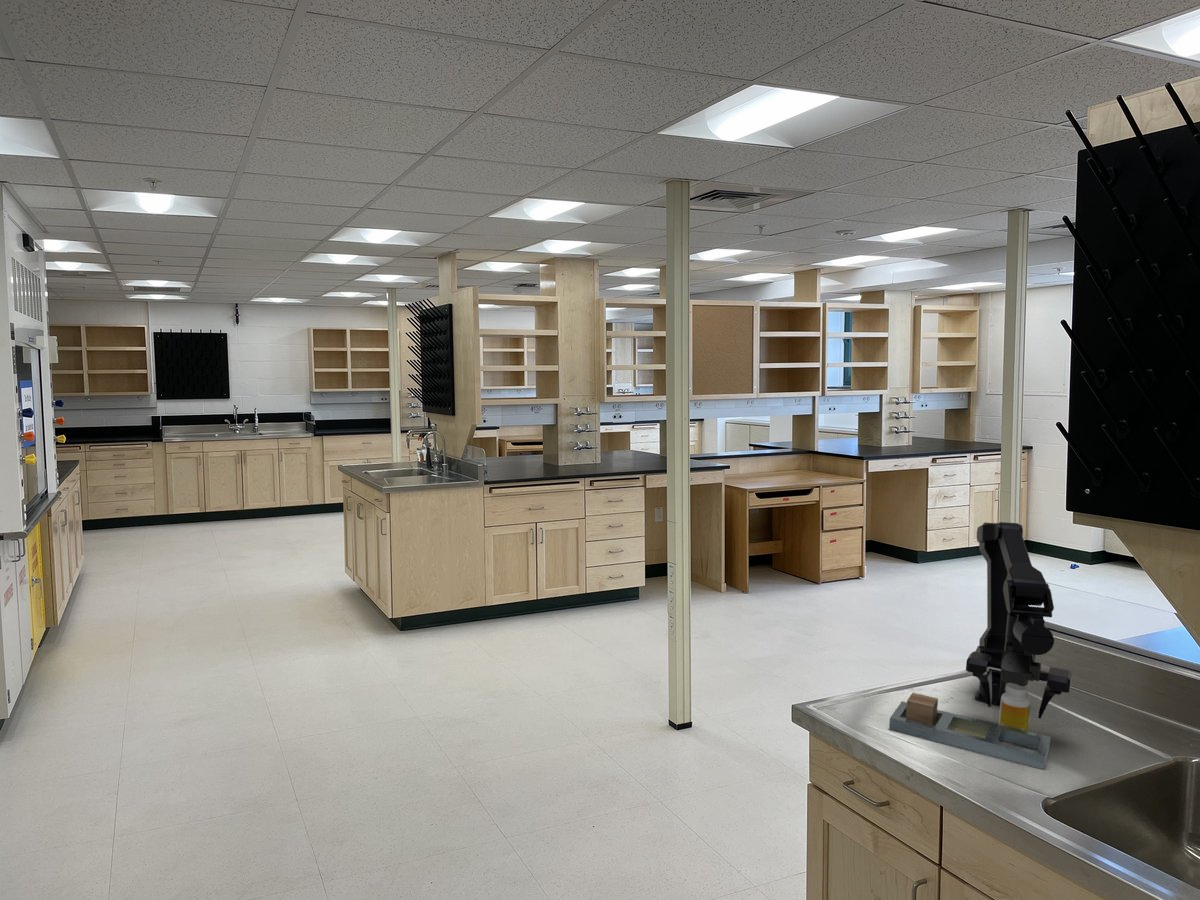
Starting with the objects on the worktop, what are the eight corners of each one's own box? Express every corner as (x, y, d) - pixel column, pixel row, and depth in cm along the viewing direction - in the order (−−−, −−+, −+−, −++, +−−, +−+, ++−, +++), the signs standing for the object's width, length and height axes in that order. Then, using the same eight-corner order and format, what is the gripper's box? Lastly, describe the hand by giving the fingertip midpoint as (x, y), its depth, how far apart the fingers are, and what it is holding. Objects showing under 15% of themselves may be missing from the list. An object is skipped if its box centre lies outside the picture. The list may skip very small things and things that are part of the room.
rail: (900, 712, 182) (901, 701, 182) (1049, 749, 167) (1050, 736, 167) (889, 729, 174) (890, 717, 173) (1044, 769, 159) (1045, 756, 158)
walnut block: (910, 720, 179) (912, 692, 178) (935, 726, 176) (938, 698, 175) (904, 728, 174) (907, 700, 174) (930, 735, 172) (933, 706, 171)
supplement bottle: (1030, 739, 171) (1035, 692, 170) (1001, 736, 172) (1006, 689, 171) (1023, 728, 176) (1027, 682, 175) (994, 724, 177) (999, 679, 176)
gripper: (964, 638, 170) (957, 714, 172) (1071, 659, 160) (1063, 739, 162) (973, 624, 179) (967, 695, 181) (1075, 643, 170) (1067, 718, 172)
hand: (1014, 711), depth 174 cm, fingers open, 9 cm apart
